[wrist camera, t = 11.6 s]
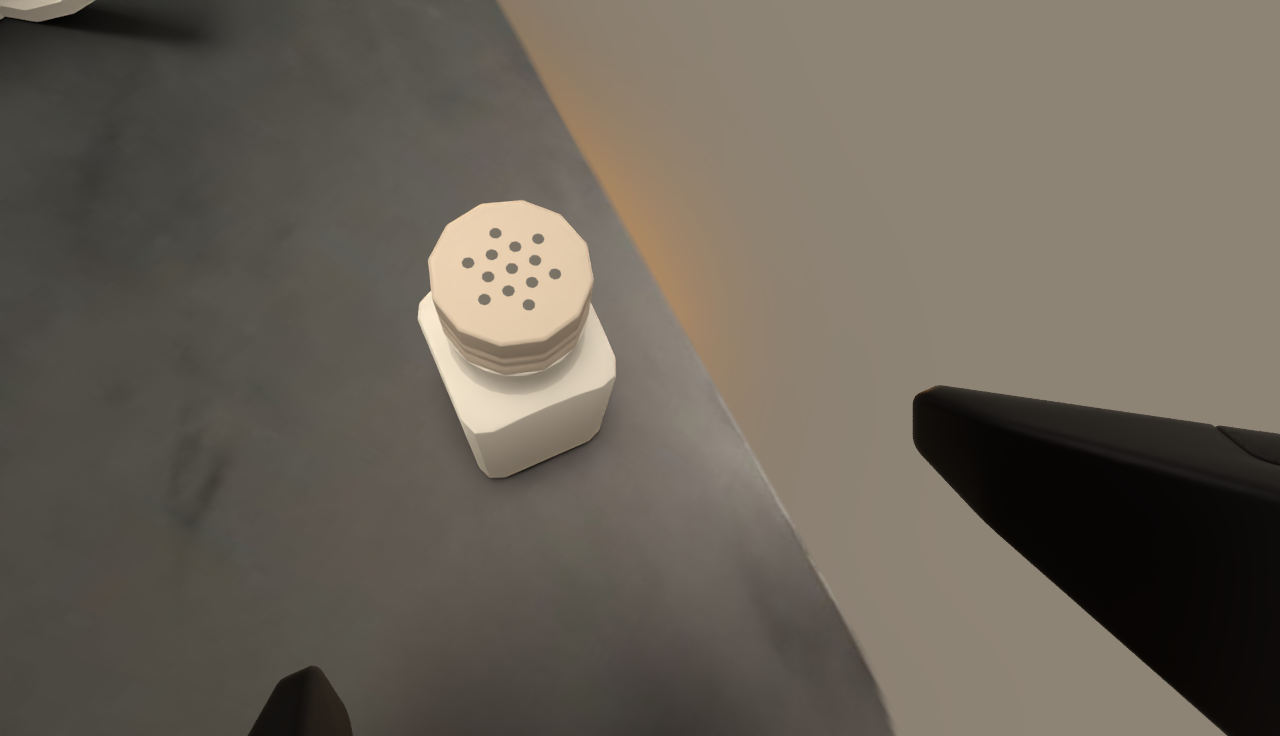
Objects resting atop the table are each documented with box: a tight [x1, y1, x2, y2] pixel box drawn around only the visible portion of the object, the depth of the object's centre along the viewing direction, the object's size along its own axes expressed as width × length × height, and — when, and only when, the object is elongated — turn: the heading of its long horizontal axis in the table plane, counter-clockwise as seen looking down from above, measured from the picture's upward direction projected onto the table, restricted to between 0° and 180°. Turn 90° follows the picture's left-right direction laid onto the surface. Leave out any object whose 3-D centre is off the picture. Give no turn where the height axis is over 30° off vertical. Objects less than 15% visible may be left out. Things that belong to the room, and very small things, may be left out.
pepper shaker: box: [418, 200, 616, 478], centre depth 18 cm, size 4×4×10 cm
